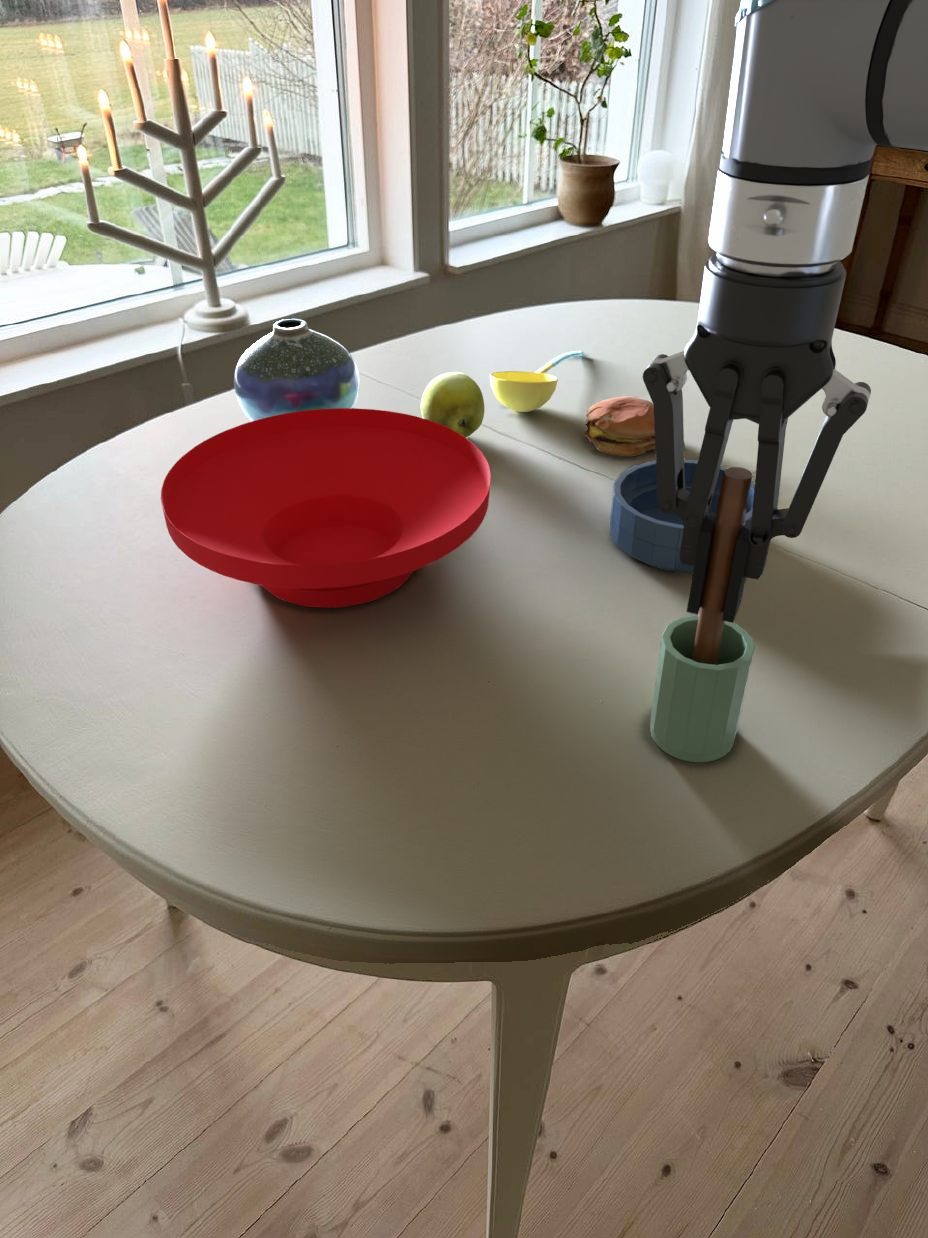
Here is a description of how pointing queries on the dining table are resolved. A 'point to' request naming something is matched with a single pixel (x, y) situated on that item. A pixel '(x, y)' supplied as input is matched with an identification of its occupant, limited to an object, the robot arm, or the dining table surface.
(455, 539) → the bowl
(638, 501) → the blue pet dish
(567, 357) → the ladle
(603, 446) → the burger
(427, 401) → the apple
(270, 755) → the dining table surface
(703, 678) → the crock
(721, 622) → the stick
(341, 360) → the vase
